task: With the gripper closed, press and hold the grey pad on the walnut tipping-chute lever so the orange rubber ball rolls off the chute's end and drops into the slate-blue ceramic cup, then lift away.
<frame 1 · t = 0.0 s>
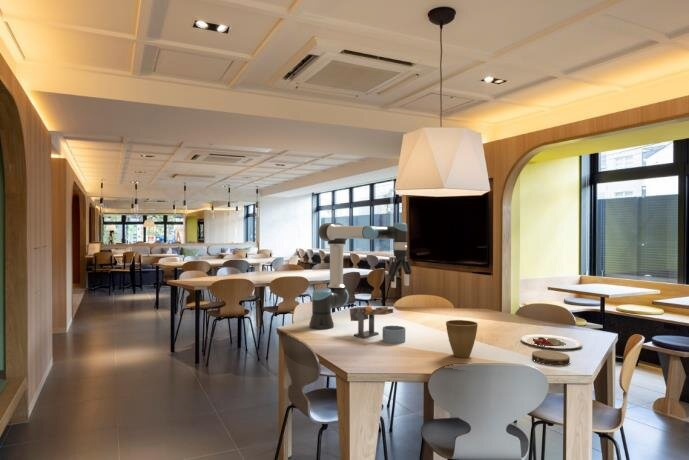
hand: (400, 286, 261), 28 cm above the table, fingers open, 13 cm apart
ball: (368, 309, 259), point 15 cm above the table, tilted 9°, touching lever
plant pot: (461, 356, 219), on the table
plated food: (550, 344, 244), on the table
lever: (374, 312, 260), point 13 cm above the table, hinge at -8.0°, touching ball
cup: (393, 340, 247), on the table
lever stand: (366, 335, 260), on the table
brown round disc: (550, 361, 211), on the table
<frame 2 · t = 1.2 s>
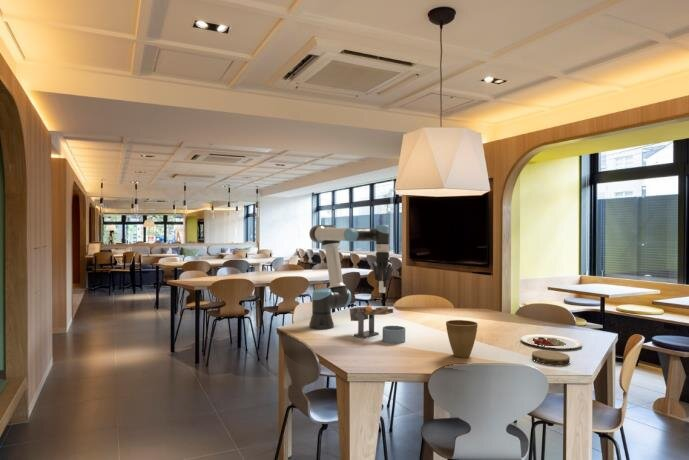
hand: (382, 292, 261), 24 cm above the table, fingers closed
nothing on the table moved.
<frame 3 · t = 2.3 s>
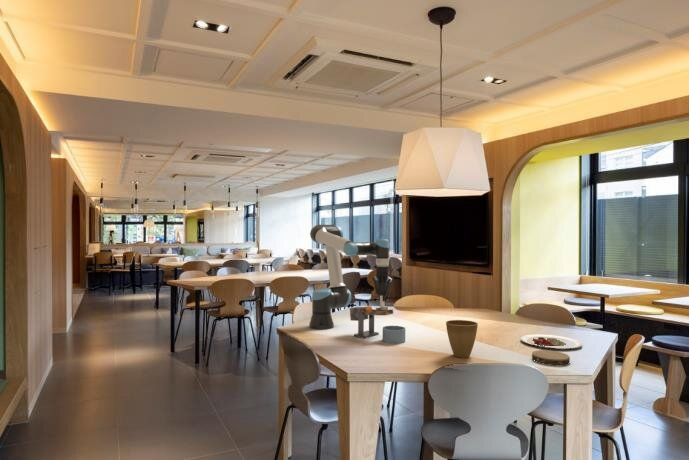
hand: (382, 306, 261), 16 cm above the table, fingers closed
lever: (374, 312, 260), point 13 cm above the table, hinge at -6.3°, touching ball, gripper
everything else where it was.
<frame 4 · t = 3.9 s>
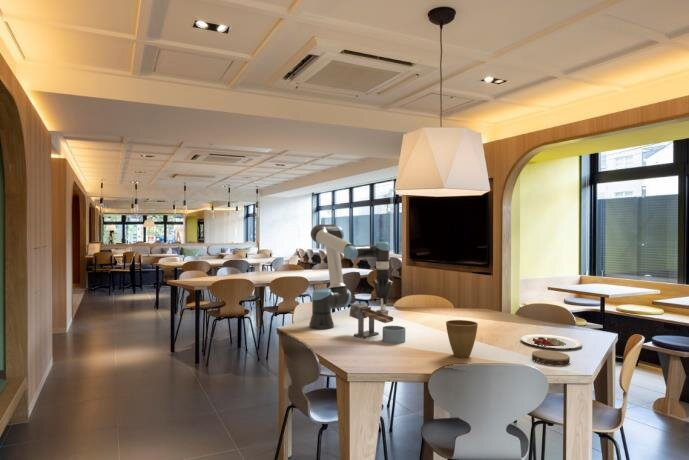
hand: (383, 309, 261), 15 cm above the table, fingers closed
ball: (389, 335, 249), point 3 cm above the table, tilted 8°, touching cup
lever: (374, 314, 260), point 12 cm above the table, hinge at 9.0°, touching gripper
everything else where it was.
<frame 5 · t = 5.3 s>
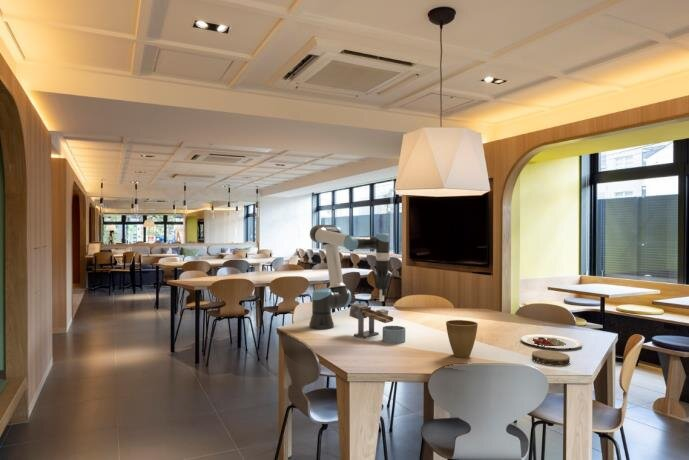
hand: (381, 300, 261), 20 cm above the table, fingers closed
ball: (392, 335, 248), point 3 cm above the table, tilted 64°, touching cup
lever: (374, 314, 260), point 12 cm above the table, hinge at 9.0°
everything else where it was.
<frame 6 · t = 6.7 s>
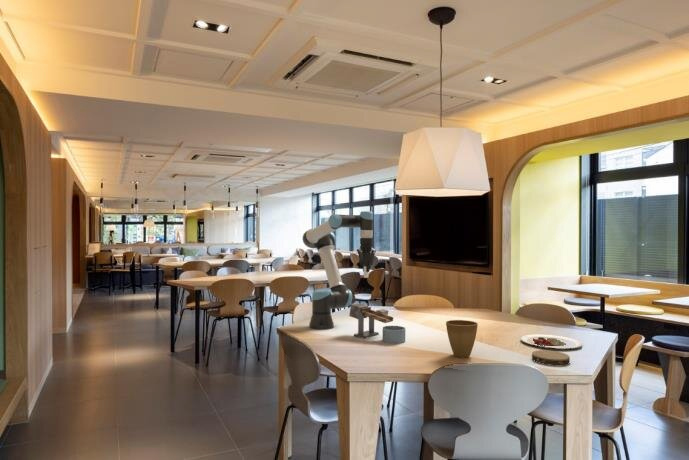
hand: (366, 277, 268), 32 cm above the table, fingers closed
ball: (395, 336, 247), point 3 cm above the table, tilted 119°, touching cup
everything else where it was.
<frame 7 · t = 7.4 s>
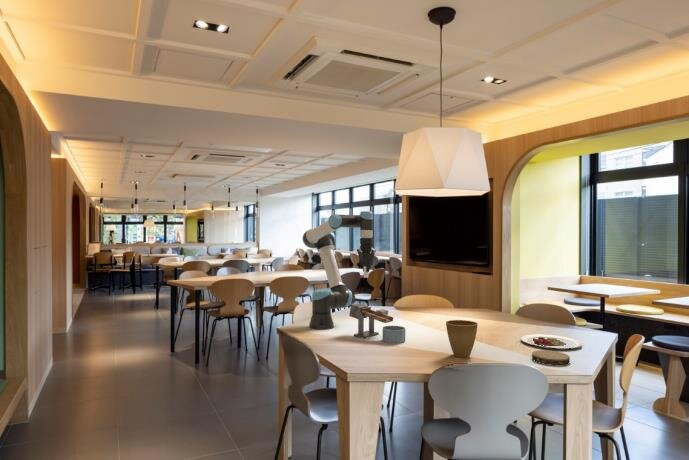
hand: (366, 277, 268), 32 cm above the table, fingers closed
ball: (396, 336, 246), point 3 cm above the table, tilted 146°, touching cup
everything else where it was.
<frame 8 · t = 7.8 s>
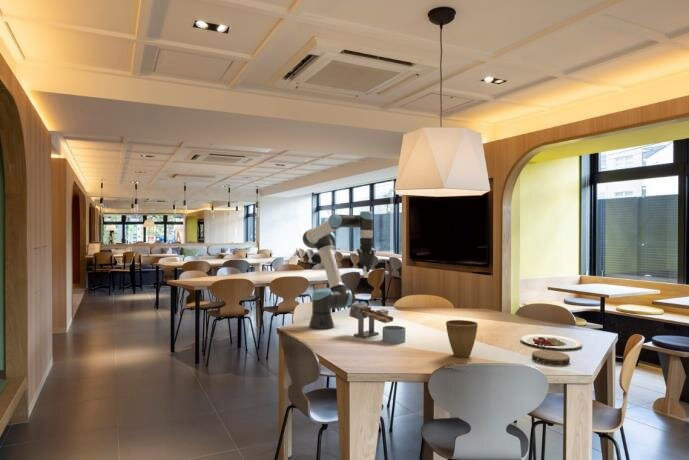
hand: (366, 277, 268), 32 cm above the table, fingers closed
ball: (397, 336, 246), point 3 cm above the table, tilted 162°, touching cup
everything else where it was.
at the end: ball inside the target area on the cup (2.5 cm from its centre), point 2.6 cm above the cup's base; ball moved 23.4 cm from its start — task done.
